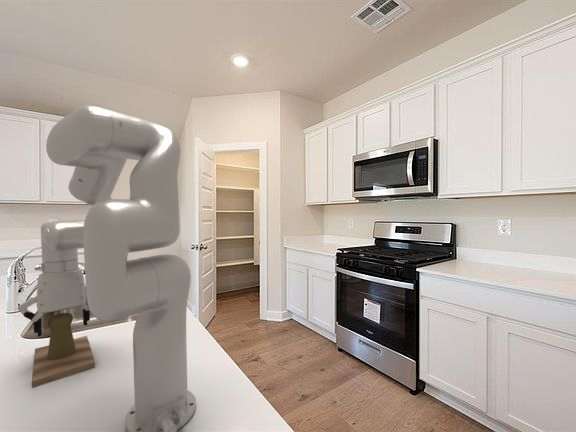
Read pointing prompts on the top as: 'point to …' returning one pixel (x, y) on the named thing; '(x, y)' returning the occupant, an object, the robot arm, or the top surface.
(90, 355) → the walnut board
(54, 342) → the cork
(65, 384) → the top surface
